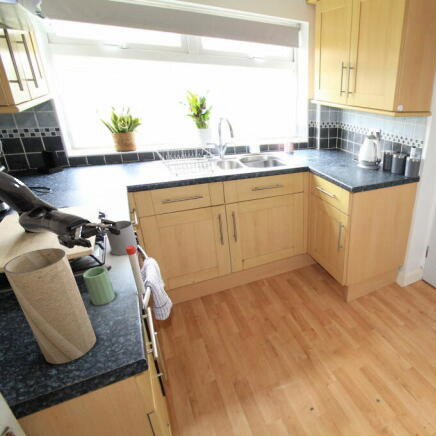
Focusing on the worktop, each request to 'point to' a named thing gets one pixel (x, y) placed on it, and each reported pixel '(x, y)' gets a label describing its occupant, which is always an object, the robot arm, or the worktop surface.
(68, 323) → the tube
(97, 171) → the worktop surface
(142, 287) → the marker
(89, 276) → the green pencil holder
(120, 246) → the cup
